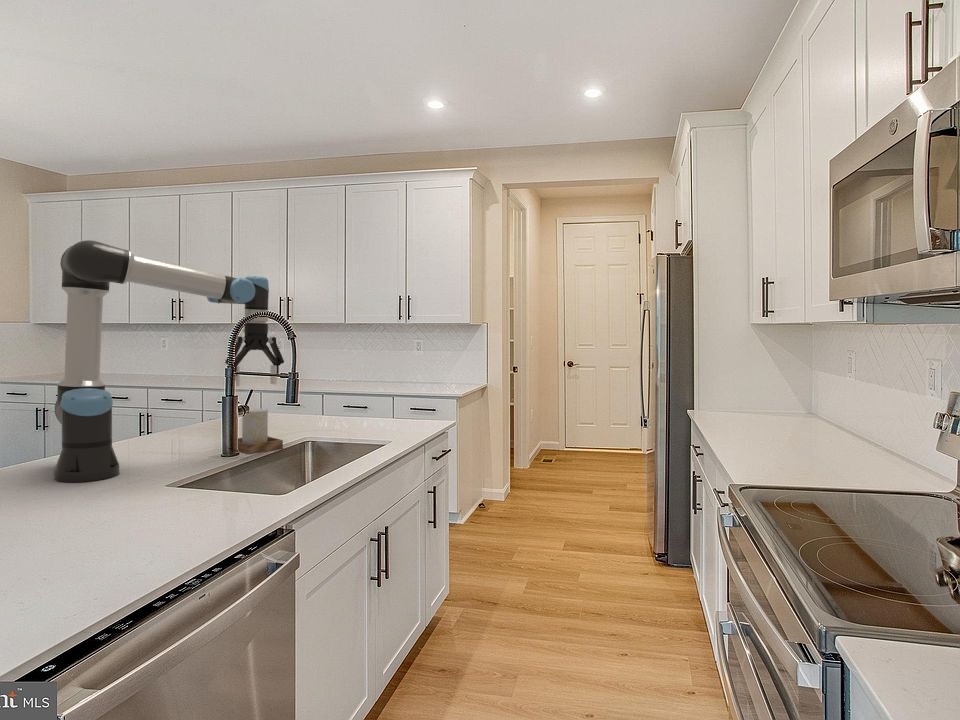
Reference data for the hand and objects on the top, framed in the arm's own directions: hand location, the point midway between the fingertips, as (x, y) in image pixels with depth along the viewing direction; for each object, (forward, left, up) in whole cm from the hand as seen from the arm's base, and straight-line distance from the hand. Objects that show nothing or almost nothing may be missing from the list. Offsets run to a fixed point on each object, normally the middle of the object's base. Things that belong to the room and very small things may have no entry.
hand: (255, 385), depth 211 cm
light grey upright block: (0, 0, -21) cm, 21 cm away
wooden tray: (0, 0, -22) cm, 22 cm away
